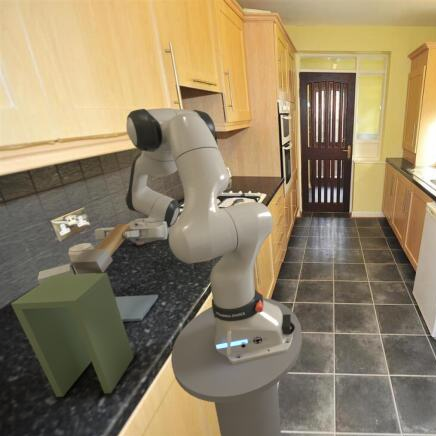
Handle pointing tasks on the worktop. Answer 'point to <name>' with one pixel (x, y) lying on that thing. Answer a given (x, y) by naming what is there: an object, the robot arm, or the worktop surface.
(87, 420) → the worktop surface
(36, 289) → the green arch block
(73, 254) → the beverage can
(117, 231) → the mallet
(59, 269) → the small box
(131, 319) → the mat
